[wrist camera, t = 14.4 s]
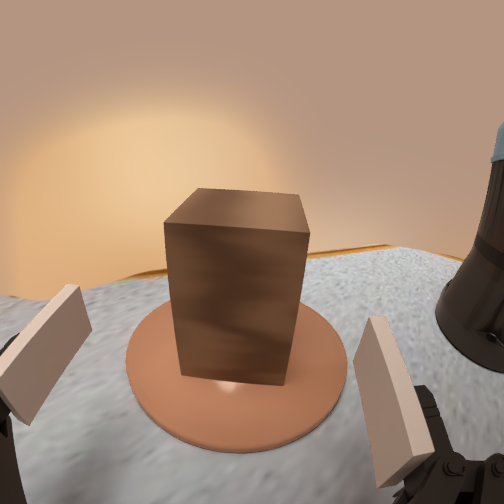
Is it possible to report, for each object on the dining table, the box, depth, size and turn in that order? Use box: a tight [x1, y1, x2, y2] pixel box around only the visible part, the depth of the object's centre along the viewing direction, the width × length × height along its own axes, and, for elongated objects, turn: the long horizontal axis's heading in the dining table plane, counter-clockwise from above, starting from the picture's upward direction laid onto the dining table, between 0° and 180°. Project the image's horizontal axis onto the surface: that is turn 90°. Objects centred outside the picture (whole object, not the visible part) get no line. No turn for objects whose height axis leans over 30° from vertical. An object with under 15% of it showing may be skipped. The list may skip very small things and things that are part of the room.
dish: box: [126, 300, 347, 453], centre depth 22 cm, size 17×17×1 cm
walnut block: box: [164, 188, 310, 386], centre depth 19 cm, size 7×7×11 cm
